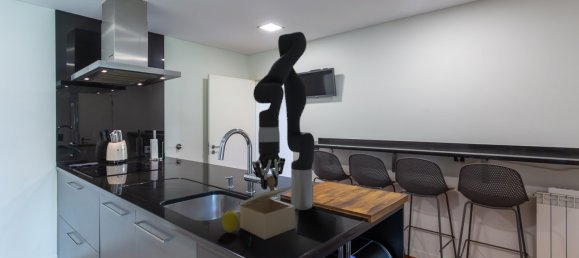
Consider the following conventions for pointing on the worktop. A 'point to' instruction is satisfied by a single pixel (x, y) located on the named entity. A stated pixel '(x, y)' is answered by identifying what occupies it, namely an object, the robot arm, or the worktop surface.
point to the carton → (267, 217)
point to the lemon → (230, 221)
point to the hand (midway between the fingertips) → (269, 187)
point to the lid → (267, 194)
